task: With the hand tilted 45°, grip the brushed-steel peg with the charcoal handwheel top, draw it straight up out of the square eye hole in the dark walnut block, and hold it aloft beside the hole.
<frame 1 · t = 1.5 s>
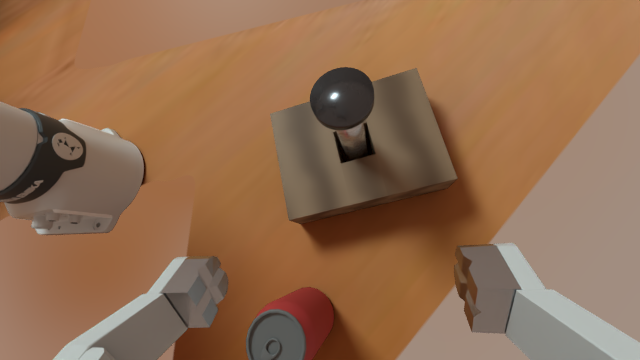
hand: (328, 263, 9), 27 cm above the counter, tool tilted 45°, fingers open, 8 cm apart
steel peg: (351, 133, 31), in the walnut eye block
walnut eye block: (357, 155, 39), on the counter
beer can: (309, 313, 35), on the counter
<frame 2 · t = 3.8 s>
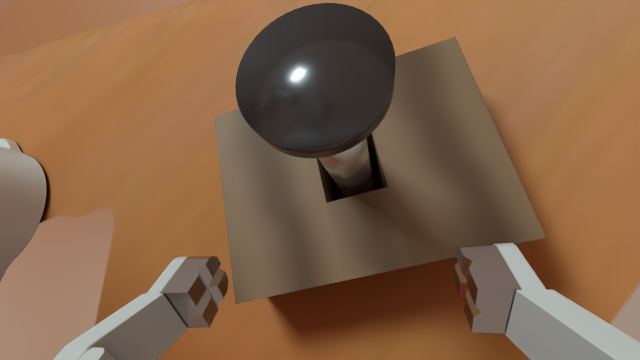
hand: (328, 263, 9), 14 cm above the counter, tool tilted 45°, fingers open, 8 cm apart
steel peg: (343, 151, 17), in the walnut eye block
walnut eye block: (355, 182, 24), on the counter
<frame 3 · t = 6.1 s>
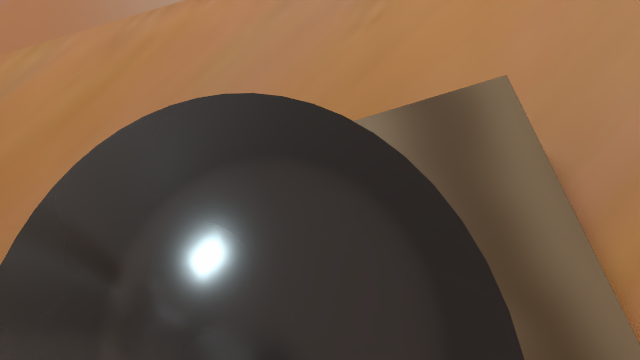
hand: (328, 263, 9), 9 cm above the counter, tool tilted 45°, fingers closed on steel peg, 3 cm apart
steel peg: (334, 280, 10), in the walnut eye block, touching gripper
walnut eye block: (356, 268, 18), on the counter
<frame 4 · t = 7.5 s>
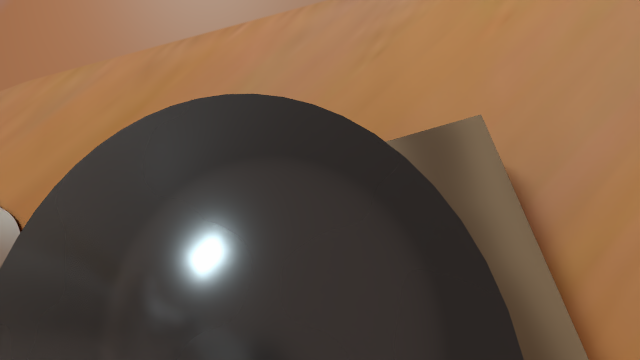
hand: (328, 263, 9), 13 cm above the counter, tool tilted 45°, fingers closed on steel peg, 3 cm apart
steel peg: (334, 280, 10), point 12 cm above the counter, touching gripper
walnut eye block: (362, 265, 21), on the counter
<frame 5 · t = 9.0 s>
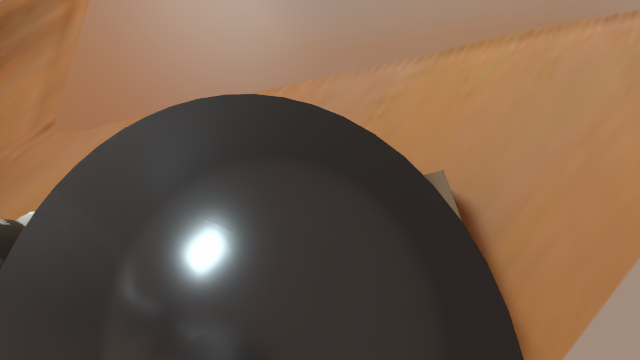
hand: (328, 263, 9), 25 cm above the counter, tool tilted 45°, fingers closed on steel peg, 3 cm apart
steel peg: (334, 280, 10), point 24 cm above the counter, touching gripper
walnut eye block: (371, 261, 33), on the counter
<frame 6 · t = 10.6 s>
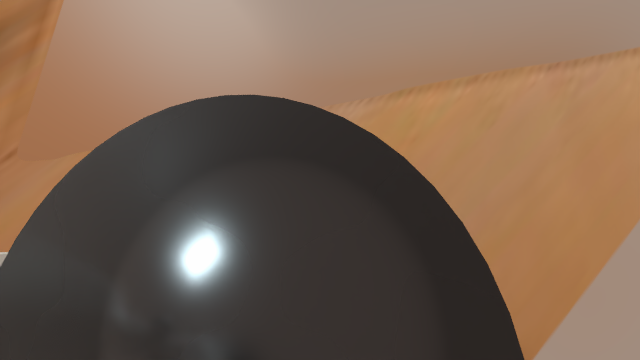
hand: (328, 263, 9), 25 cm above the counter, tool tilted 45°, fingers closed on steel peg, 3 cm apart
steel peg: (334, 281, 10), point 24 cm above the counter, touching gripper
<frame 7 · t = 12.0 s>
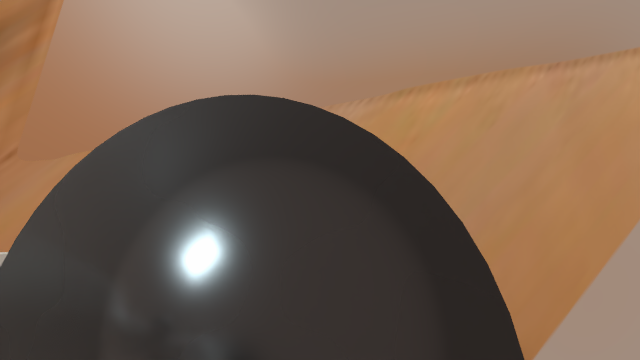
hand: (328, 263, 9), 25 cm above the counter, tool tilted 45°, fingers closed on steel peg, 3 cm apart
steel peg: (334, 281, 10), point 24 cm above the counter, touching gripper
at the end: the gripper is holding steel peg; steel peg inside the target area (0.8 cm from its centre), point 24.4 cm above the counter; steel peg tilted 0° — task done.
